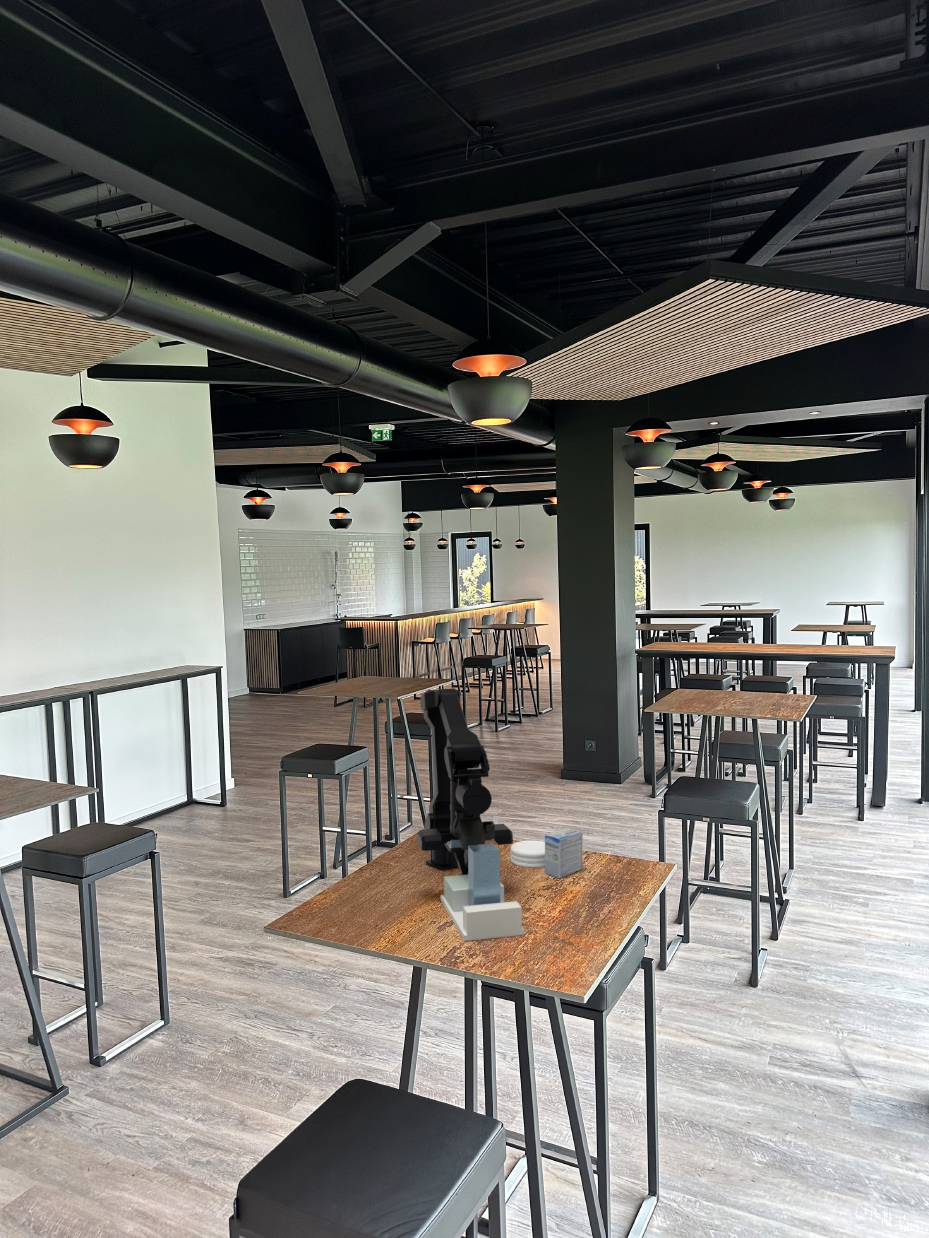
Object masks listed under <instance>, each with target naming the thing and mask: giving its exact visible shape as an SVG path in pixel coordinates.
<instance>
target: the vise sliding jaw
mask: <svg viewBox="0 0 929 1238" xmlns="http://www.w3.org/2000/svg"><path fill="white" fill-rule="evenodd" d="M443 895H444V897H445V899H446V900H447V902H448V904H449V905H450V907H451V909H452V911H453V912H454V911H463V906H469V904H468V875H460V874H459V875H446V876H443ZM503 902H505V885H504V884H503V883H502V882H501V881H500V903H503Z"/></svg>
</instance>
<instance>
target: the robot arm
mask: <svg viewBox="0 0 929 1238" xmlns="http://www.w3.org/2000/svg"><path fill="white" fill-rule="evenodd" d="M419 701H420V702H419V703H420V710H421V711H423V712H422V713H423V719H424V720H425V722H426V723H427V725H428V726H429V728H430V729H431V730H430V731H431V745H432V746H431V747H432V757H433V758H432V761H433V776H434V777H433V778H434V779H433V780H434V795H433V797H432V799H431V801H430V804H429V806H428V813H427V814H426V819H425V821H424V828H423V829H419V831H418V832H417V833H416V834H417V835H416V840H417V841H416V842H417V843H416V844H417V845H418V846H419V848H420V850H421V851H425V852H427V851H429V852H430V859H428V860H426V861H425V865H428V866H431V867H433V868H437V869H440V870H443V871H446V870H449V869H453V868H455V867H458V869H459V871H460V874H461V875H468V845H480V844H486V842H487V841H492V840H494V842H495V844H497V845H498V846H503V845H505V846H506V845H511V844H512V845H513V844H514V843H513V842H514V839H513V837H514V835H513V832H512V829H510V828H509V827H508V826H507V825H506V824H505V823H494V821H493V820H489V821H488V820H487V821H483V820H482V818H481V815H483V814H484V813H486V812H487V811H488V810H489V809H490V807H491V804H492V800H493V798H492V795H491V792H490V790H489V788H487V787H486V786H484V784H482V783H483V781H482V778H488V777H489V772H490V769H491V768H490V763H489V759H488V755H487V751H486V750H485V747H484V745H482V744H481V741H480V739H479V737H478V735H477V734H476V733H474V732H473V731H472V730H470V729H469V727H468V724H467V723H468V722H467V721H466V717H465V714H464V711H463V707H462V703H461V691H459V689H456V688H454V687H451V688H439V689H426V690H425V692H423V693H422V694H421V695H420V700H419ZM480 767H481V768H480Z"/></svg>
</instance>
